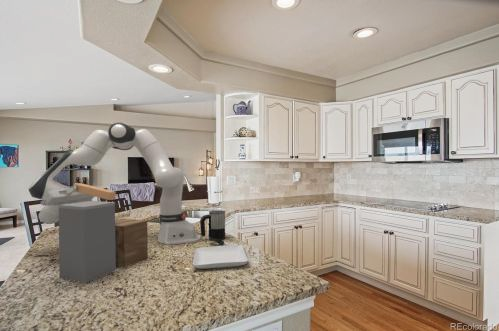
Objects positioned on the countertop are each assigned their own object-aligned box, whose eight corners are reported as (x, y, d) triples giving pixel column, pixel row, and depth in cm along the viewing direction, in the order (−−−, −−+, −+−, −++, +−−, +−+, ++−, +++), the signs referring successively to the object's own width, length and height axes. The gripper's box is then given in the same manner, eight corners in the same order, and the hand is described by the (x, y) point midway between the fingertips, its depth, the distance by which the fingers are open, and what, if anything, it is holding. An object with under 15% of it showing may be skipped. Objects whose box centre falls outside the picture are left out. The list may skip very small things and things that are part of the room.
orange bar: (73, 190, 114) (73, 183, 114) (80, 189, 117) (80, 183, 117) (108, 200, 105) (109, 192, 105) (115, 199, 108) (115, 191, 108)
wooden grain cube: (100, 262, 111) (99, 223, 111) (124, 253, 122) (124, 218, 122) (124, 267, 105) (124, 226, 105) (147, 257, 116) (147, 220, 116)
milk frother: (219, 235, 151) (218, 209, 151) (237, 241, 139) (237, 212, 139) (197, 240, 141) (197, 212, 141) (215, 247, 130) (214, 216, 130)
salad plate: (192, 273, 99) (192, 264, 99) (195, 254, 120) (195, 247, 120) (249, 269, 102) (248, 260, 102) (242, 251, 123) (242, 244, 123)
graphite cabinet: (59, 277, 96) (58, 205, 96) (91, 265, 107) (90, 200, 107) (85, 283, 91) (84, 207, 91) (115, 270, 101) (114, 202, 101)
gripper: (35, 198, 110) (53, 181, 105) (84, 193, 129) (100, 178, 124) (40, 212, 109) (58, 195, 104) (88, 204, 128) (105, 190, 123)
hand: (81, 186), depth 114 cm, fingers closed on orange bar, 3 cm apart
